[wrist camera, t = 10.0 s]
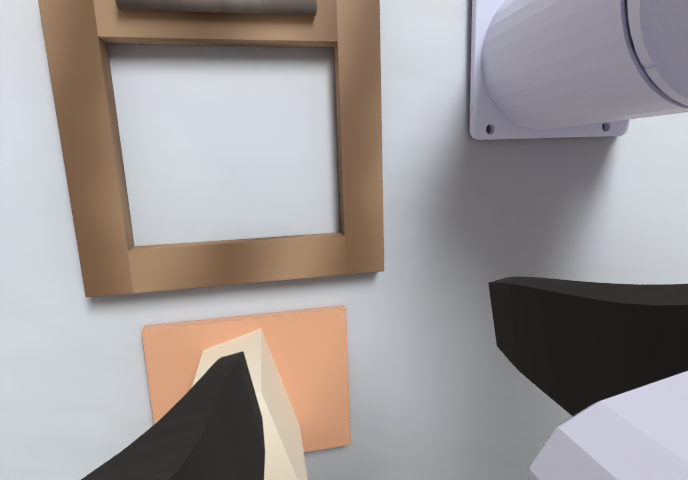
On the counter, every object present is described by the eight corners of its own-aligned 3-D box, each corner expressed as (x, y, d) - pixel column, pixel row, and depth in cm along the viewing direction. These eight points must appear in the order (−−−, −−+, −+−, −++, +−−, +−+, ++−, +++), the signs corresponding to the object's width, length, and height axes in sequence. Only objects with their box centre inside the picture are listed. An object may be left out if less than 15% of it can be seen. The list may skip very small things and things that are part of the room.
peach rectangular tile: (343, 305, 22) (345, 309, 21) (348, 437, 24) (350, 444, 23) (144, 325, 20) (141, 330, 20) (163, 468, 22) (161, 476, 21)
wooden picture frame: (373, 3, 20) (383, -12, 18) (378, 266, 22) (388, 274, 20) (47, -10, 17) (25, -28, 15) (94, 290, 19) (79, 302, 18)
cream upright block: (261, 328, 21) (261, 391, 15) (299, 425, 22) (313, 517, 16) (203, 350, 20) (180, 423, 15) (246, 447, 22) (240, 550, 16)
